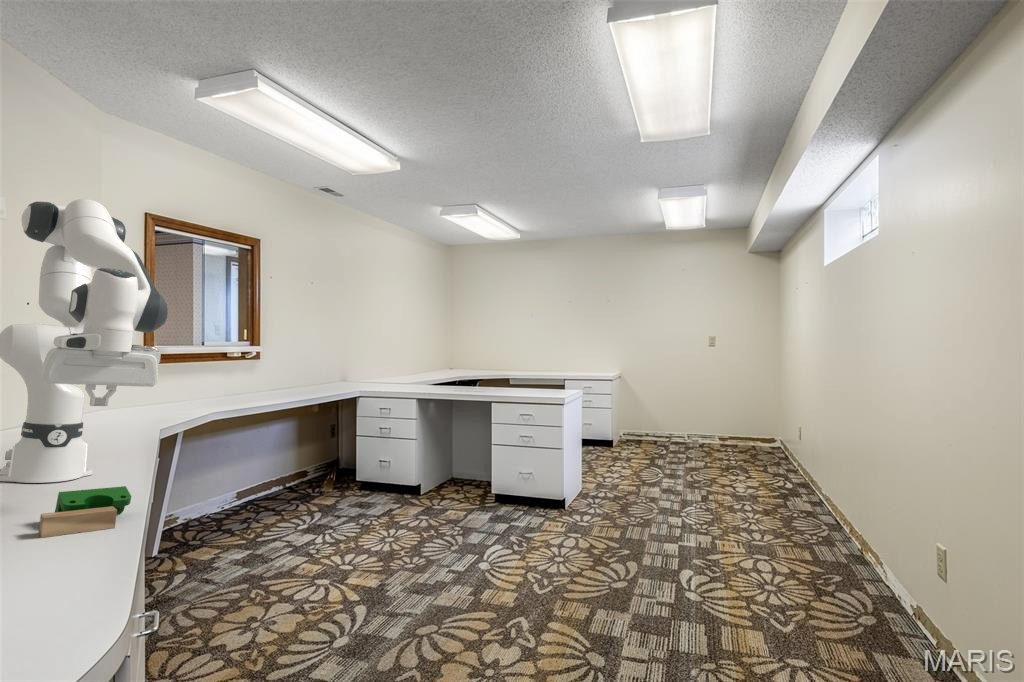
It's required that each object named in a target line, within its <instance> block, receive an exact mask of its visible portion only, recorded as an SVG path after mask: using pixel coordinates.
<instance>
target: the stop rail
mask: <svg viewBox="0 0 1024 682" xmlns="http://www.w3.org/2000/svg"><path fill="white" fill-rule="evenodd" d="M117 516H118V515H117V509H115V508H114V507H113V506H109V507H100V508H91V509H82V510H72V511H63V512H55V511H54V512H47V513H41V514H40V516H39V518H40V519H39V527H38V533H39V534H38V536H39V537H40V538H41V539H43V538H49V537H57V536H58V535H59V536H65V535H64V534H66V535H71V534H70V533H73V534H79V533H78V532H81V533H86V532H95V531H102V530H109V529H114V528H116V523H117Z"/></svg>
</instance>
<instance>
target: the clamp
mask: <svg viewBox="0 0 1024 682" xmlns="http://www.w3.org/2000/svg"><path fill="white" fill-rule="evenodd" d="M131 501H132V495H131V493H130V491H129V490H128V488H127V486H126V485H125V486H123V485H122V486H113V487H111V486H110V487H101V488H91V489H81V490H78V489H77V490H68V491H67V490H66V491H59V492H58V495H57V499H56V504H55V505H56V506H55V509H54V512H63V511H72V510H82V509H91V508H100V507H109V506H113V507H114V508H115V509H117V514H119V515H121V514H122V513H123V512H124V511H125V507H126V506H129V505H130V504H131Z"/></svg>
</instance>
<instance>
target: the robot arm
mask: <svg viewBox="0 0 1024 682" xmlns="http://www.w3.org/2000/svg"><path fill="white" fill-rule="evenodd" d="M21 227H22V228H23V232H24V234H25V235H26V236H27V238H29V239H32V240H34V241H37V242H40V243H44V242H45V243H49V244H52V246H50V247H49V248H48V249H47V250H46V251H45V254H44V256H43V259H42V262H41V263H42V264H41V267H40V272H39V273H40V274H39V286H38V287H39V288H38V305H39V307H40V309H41V310H42V311H43V312H44V314H46V315H47V316H48V317H50V318H52V319H54V320H56V321H58V322H60V323H61V324H62V325H53V324H52V325H51V324H43V323H42V324H41V323H19V324H10V325H8V326H6V327H5V328H4V329H3V330H1V332H0V359H1V360H2V361H3V362H5V363H6V364H8V365H9V366H10V367H12V368H13V369H14V370H16V372H17V373H18V374H19V375H20V376H21V378H22V380H23V381H24V383H25V386H26V391H27V408H26V416H25V421H24V422H23V423H22V427H21V433H20V436H21V438H20V439H19V441H18V442H17V443H15V445H13V446H12V449H11V448H10V449H8V450H6V451H5V455H4V460H5V461H7V462H5V463H6V465H4V466H3V467H2V468H1V470H0V482H11V483H12V482H13V483H15V482H16V483H25V484H26V483H27V484H29V483H30V484H37V483H38V484H40V483H41V484H44V483H59V482H65V481H71V480H76V479H79V478H82V477H87V476H91V475H93V470H92V469H89V468H87V459H88V458H87V457H88V443H86V442H85V441H84V440H83V439H82V436H83V431H84V422H83V421H82V420H83V413H84V406H85V400H86V395H85V393H84V391H83V390H82V389H81V388H80V387H78V386H77V385H83V386H84V385H85V387H84V390H85V391H86V392H87V395H88V397H89V398H90V399H89V406H90V407H108V405H109V399H110V398H111V397H112V396H113V395H114V394H115V392H116V391H117V388H118V387H119V386H120V387H121V386H122V387H142V388H143V387H144V388H147V387H148V388H149V387H150V388H152V387H154V386H155V385H157V383H158V377H159V370H158V368H159V367H158V365H159V364H160V363H161V356H162V355H161V354H162V353H161V351H160V350H159V349H158V348H155V347H154V346H152V345H147V346H146V345H140V344H139V345H138V344H133V342H134V341H133V340H134V332H141V333H145V334H146V333H147V334H150V333H152V332H155V331H156V330H158V329H160V328H161V327H163V326H164V325H165V324H166V323H167V318H168V311H169V310H168V304H167V302H166V300H165V298H164V297H163V296H162V294H161V293H160V291H158V290H157V287H156V286H155V284H154V282H153V280H152V278H151V276H150V274H149V272H148V270H147V269H146V266H145V264H144V262H143V261H142V259H141V256H140V255H139V254H138V253H137V252H136V251H134V250H133V249H131V247H130V246H128V245H127V244H126V240H127V231H126V230H127V229H126V226H125V224H124V222H123V221H122V220H119V219H117V218H115V217H113V216H111V214H110V212H109V211H108V209H107V208H106V207H105V206H104V205H103V204H102V203H100V202H98V201H97V200H93V199H89V198H80V199H75V200H73V201H71V202H69V203H68V204H67V205H62V204H55V203H52V202H50V201H49V202H48V201H33V202H31V203H29V204H28V206H27V207H26V208H25V209H24V211H23V213H22V214H21ZM92 269H96V270H95V271H94V272H92ZM97 386H105V390H107V391H106V393H105V394H104V395H103V396H101V397H99V396H98V397H97V396H96V394H95V393H94V392H93V391H96V389H97V388H96V387H97ZM117 386H118V387H117Z"/></svg>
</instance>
